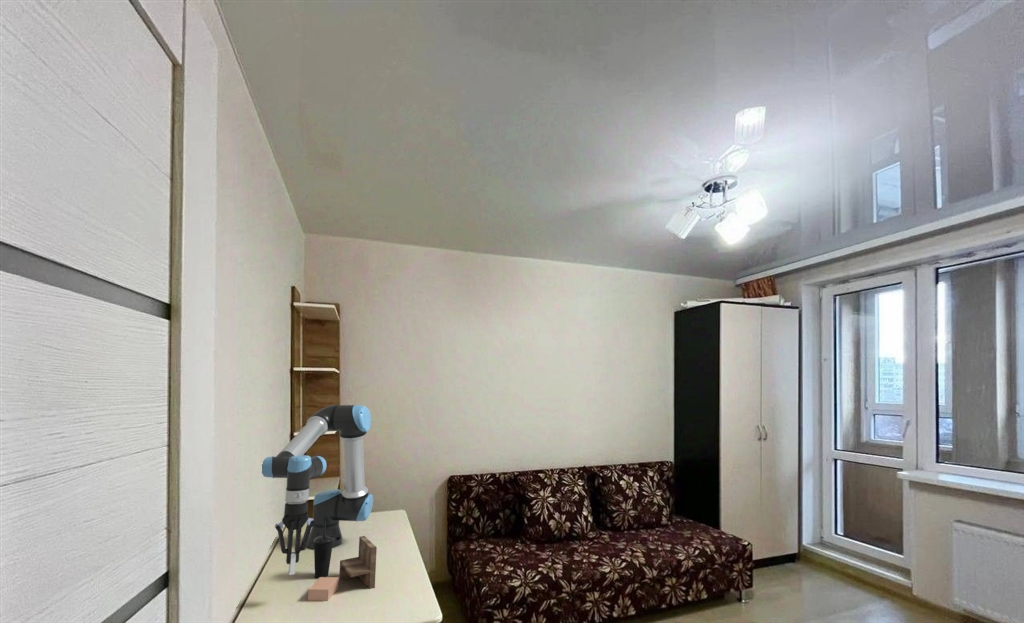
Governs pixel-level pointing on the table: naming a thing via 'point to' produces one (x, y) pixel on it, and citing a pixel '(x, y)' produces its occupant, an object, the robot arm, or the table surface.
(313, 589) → the pink rectangular block
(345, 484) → the robot arm
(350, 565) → the desk shelf
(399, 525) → the table surface
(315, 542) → the drinking cup
